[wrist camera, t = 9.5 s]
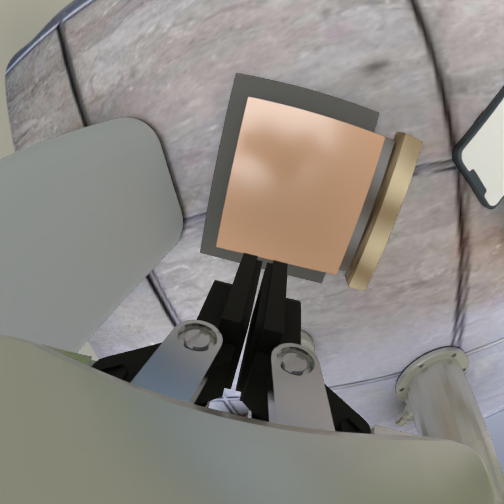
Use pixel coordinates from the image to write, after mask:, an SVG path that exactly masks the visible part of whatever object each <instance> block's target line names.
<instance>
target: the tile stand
mask: <svg viewBox="0 0 504 504" xmlns="http://www.w3.org/2000/svg"><path fill="white" fill-rule="evenodd" d="M422 143H423V141H421V140H419V139H416V138H414V137H412V136H410V135H407V134H405V133H400V132H397V134H396V137H395V141H393V140H390V139H388V138H385V140H384V143H383V146H382V150H381V153H380V156H379V159H378V163H377V166H376V169H375V172H374V175H373V178H372V181H371V184H370V187H369V190H368V193H367V196H366V199H365V201H364V204H363V207H362V210H361V213H360V215H359V218H358V221H357V224H356V226H355V229H354V232H353V234H352V237H351V239H350V242H349V245H348V247H347V250H346V252H345V255H344V257H343V260H342V262H341V265H340V267H339V270H343V271H346V272H347V273H346V275H345V277H346V280H347V284H348V287H350V288H354V289H358V290H363V291H365V289H366V287H367V285H368V283H369V281H370V279H371V277H372V275H373V272H374V270H375V268H376V266H377V264H378V261H379V259H380V257H381V255H382V252H383V250H384V248H385V245H386V243H387V241H388V238H389V236H390V233H391V231H392V229H393V226H394V224H395V221H396V219H397V216H398V213H399V211H400V208H401V206H402V203H403V200H404V198H405V195H406V192H407V189H408V186H409V184H410V181H411V178H412V175H413V172H414V169H415V166H416V163H417V160H418V156H419V153H420V150H421V147H422Z"/></svg>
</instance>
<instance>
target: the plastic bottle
mask: <svg viewBox="0 0 504 504" xmlns="http://www.w3.org/2000/svg"><path fill="white" fill-rule="evenodd" d="M182 229H183V216H182V212H181V208H180V205H179V202H178V199H177V196H176V193H175V190H174V186H173V183H172V180H171V177H170V173H169V170H168V167H167V164H166V160H165V157H164V154H163V150H162V147H161V144H160V141H159V139H158V137H157V135H156V134H155V132H154V131H153V130H152V129H151V128H150V127H149V126H148V125H147V124H146V123H144V122H142V121H140V120H138V119H135V118H129V117H122V118H117V119H113V120H109V121H105V122H102V123H98V124H95V125H91V126H88V127H84V128H81V129H78V130H75V131H72V132H69V133H66V134H63V135H60V136H57V137H54V138H51V139H48V140H46V141H43V142H40V143H38V144H35V145H33V146H30V147H28V148H25V149H23V150H20V151H18V152H16V153H13V154H11V155H9V156H7V157H4V158H2V159H0V335H6V336H13V337H18V338H21V339H25V340H28V341H32V342H34V343H37V344H43V345H46V346H50V347H54V348H57V349H61V350H65V351H69V352H74V353H78V351H79V350H80V349H81V348H82V347H83V346H84V344H85V343H86V342H87V341H88V340H89V339H90V337H91V336H92V335H93V334H94V333H95V332H96V331H97V329H98V328H99V327H100V326H101V325H102V324H103V323H104V321H105V320H106V319H107V318H108V317H109V316H110V315H111V314H112V313H113V311H114V310H115V309H116V308H117V307H118V306H119V305H120V304H121V303H122V302H123V300H124V299H125V298H126V297H127V296H128V295H129V294H130V293H131V292H132V291H133V290H134V289H135V287H136V286H137V285H138V284H139V283H140V282H141V281H142V280H143V279H144V278H145V277H146V276H147V275H148V274H149V273H150V272H151V271H152V270H153V268H154V267H155V266H156V265H157V264H158V263H159V262H160V261H161V260H162V259H163V258H164V257H165V256H166V255H167V254H168V253H169V252H170V251H171V250H172V249H173V248H174V247H175V246H176V244H177V243H178V241H179V239H180V237H181V233H182Z"/></svg>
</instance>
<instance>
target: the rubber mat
mask: <svg viewBox="0 0 504 504" xmlns="http://www.w3.org/2000/svg"><path fill="white" fill-rule="evenodd" d="M248 97H252V98H257V99H262V100H266V101H270V102H275V103H279V104H283V105H287V106H291V107H295V108H298V109H302V110H306V111H309V112H313V113H316V114H320V115H323V116H326V117H329V118H333V119H336V120H339V121H342V122H345V123H348V124H351V125H354V126H357V127H360V128H362V129H365V130H368V131H371V132H373V133H374V131H375V127H376V123H377V120H378V116H379V112H376V111H373V110H371V109H368V108H365V107H363V106H360V105H357V104H354V103H351V102H348V101H345V100H342V99H339V98H336V97H333V96H330V95H326V94H323V93H320V92H316V91H313V90H309V89H306V88H302V87H298V86H294V85H290V84H286V83H282V82H278V81H273V80H269V79H264V78H259V77H254V76H249V75H244V74H238V73H236V75H235V79H234V83H233V88H232V92H231V96H230V100H229V105H228V109H227V114H226V118H225V123H224V127H223V132H222V137H221V141H220V146H219V151H218V156H217V161H216V166H215V171H214V176H213V181H212V187H211V192H210V197H209V203H208V208H207V214H206V220H205V226H204V231H203V237H202V243H201V250H200V253H204V254H208V255H211V256H215V257H219V258H223V259H227V260H231V261H235V262H239V263H240V262H241V259H242V256H243V254H244V253H240V252H236V251H231V250H227V249H223V248H219V247H216V244H217V239H218V234H219V229H220V224H221V219H222V214H223V209H224V204H225V199H226V194H227V189H228V184H229V180H230V175H231V170H232V166H233V161H234V156H235V152H236V147H237V143H238V138H239V134H240V130H241V125H242V121H243V117H244V112H245V108H246V104H247V100H248ZM257 260H260V261H263V262H262V266H261V268H262V269H265V268H266V264H267V262H268V263H273V260H270V259H266V258H261V257H258V258H257ZM325 273H326V272H321V271H317V270H313V269H308V268H304V267H300V266H295V265H291V264H288V267H287V275H290V276H294V277H298V278H302V279H306V280H310V281H314V282H318V283H322V281H323V278H324V276H325Z"/></svg>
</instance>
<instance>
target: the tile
mask: <svg viewBox="0 0 504 504" xmlns="http://www.w3.org/2000/svg"><path fill="white" fill-rule="evenodd" d="M384 140H385V137H384V136H381V135H379V134H376V133H373V132H371V131H368V130H365V129H362V128H360V127H357V126H354V125H351V124H348V123H345V122H342V121H339V120H336V119H333V118H329V117H326V116H323V115H320V114H316V113H313V112H309V111H306V110H302V109H298V108H295V107H291V106H287V105H283V104H279V103H275V102H270V101H266V100H262V99H257V98H252V97H248V100H247V104H246V108H245V112H244V117H243V121H242V125H241V130H240V134H239V138H238V143H237V147H236V152H235V156H234V161H233V166H232V170H231V175H230V180H229V184H228V189H227V194H226V199H225V204H224V209H223V214H222V219H221V224H220V229H219V234H218V239H217V244H216V247H219V248H223V249H227V250H231V251H236V252H240V253H248V254H252V255H256V256H258V257H261V258H266V259H270V260H276V261H280V262H284V263H288V264H291V265H295V266H300V267H304V268H308V269H313V270H317V271H321V272H326V273H330V274H334V275H336V274H337V272H338V270H339V267H340V265H341V262H342V260H343V257H344V255H345V252H346V250H347V247H348V245H349V242H350V239H351V237H352V234H353V232H354V229H355V226H356V224H357V221H358V218H359V215H360V213H361V210H362V207H363V204H364V201H365V199H366V196H367V193H368V190H369V187H370V184H371V181H372V178H373V175H374V172H375V169H376V166H377V163H378V159H379V156H380V153H381V150H382V146H383V143H384Z"/></svg>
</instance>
